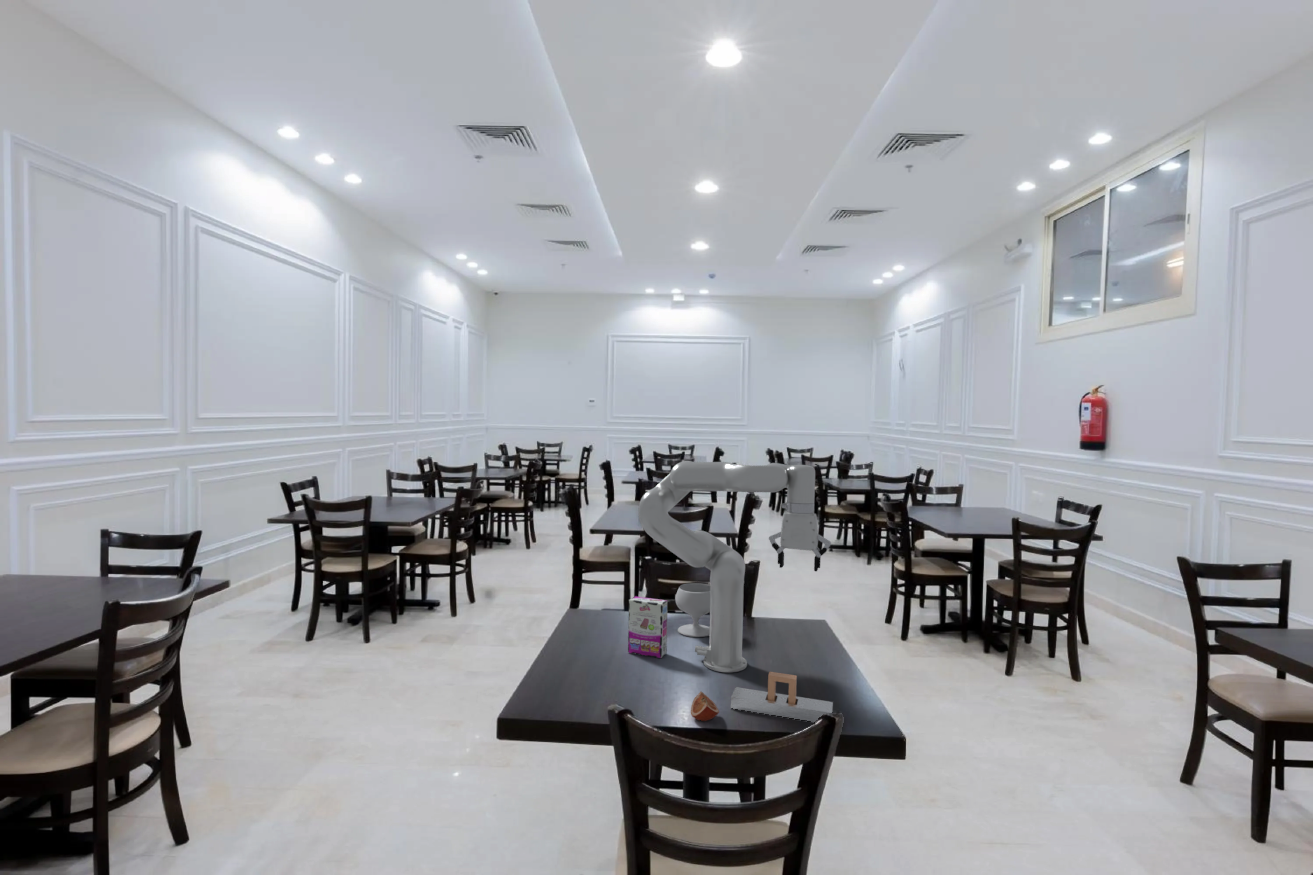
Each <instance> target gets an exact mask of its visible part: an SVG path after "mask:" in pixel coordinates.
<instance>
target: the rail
mask: <svg viewBox="0 0 1313 875" xmlns="http://www.w3.org/2000/svg"><path fill="white" fill-rule="evenodd" d="M788 696H789V694H784V693H777V692H776V697H775V701H769V700H768V691H764V690H757V689H753V688H752V689H750V688H744V687H739V686H736V687H735V688H734V689H733V692H732V694H731V696H730V709H731V708H733V709H732V710H735V709H738V710H737V711H741V710H745V711H744V712H747V711H751V712H750V713H753V712H757V713H756V714H759V713H764V714H763V715H765V714H769V715H768V716H771V715H776V716H775V717H777V716H782V717H781V718H783V717H789V718H794V719H793V720H795V719H800V720H799V721H801V720H807V721H811V722H810V723H812V724H813V723H814V722H815V721H816V720H818V718H819V717H821V716H822V715H823V714H826V713H832V712H834V701H829V700H821V699H816V698H809V697H802V696H797V695H796V705H794V704H788ZM789 718H788V719H789ZM807 721H806V722H807ZM814 724H815V723H814Z"/></svg>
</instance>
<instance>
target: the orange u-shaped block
mask: <svg viewBox="0 0 1313 875" xmlns="http://www.w3.org/2000/svg"><path fill="white" fill-rule="evenodd" d="M797 680H798V676H797V675H794V674H788V673H782V672H781V673H780V672H775V671H769V672H768V679H767V692H768V700H769V701H775V697H776V693H777V692H776V691H777V682H779V683H784V684H788V695H789V696H788V704H794V705H796V696H797Z"/></svg>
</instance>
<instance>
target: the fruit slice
mask: <svg viewBox="0 0 1313 875" xmlns="http://www.w3.org/2000/svg"><path fill="white" fill-rule="evenodd" d="M719 713H720V709H719V708H718V706H717V705H716V704H715V702H714V700H712V699H711V698H710V697H709V696H707V694H706V693H704V692H702V691H699V693H698V694H697V695H696V696H695V697H694V698H693V701H692V703H691V707H690V715H691V716H692V718H694V719H695V720H697V721H700V720H701V722H707V721H710V720H712V719H714V718H715V717H717V715H718V714H719Z"/></svg>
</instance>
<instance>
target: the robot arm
mask: <svg viewBox="0 0 1313 875" xmlns="http://www.w3.org/2000/svg"><path fill="white" fill-rule="evenodd" d="M785 488H786V489H787V495H786V496H787V497H786V502H784V503H783V502H782V503H781V508H782V509H785V512H784V513H783V515H782V520H781V528H780V529H781V530H780V531H779V532H777V533H774V534H772V535H770V536H769V537H768V540H769V542H770V544H771V547H772V548H773V549H774V550H775V551H776V553H777V564H778V565H779V568H781V569H782V568H783V567H784V565H785V552H784V549H789V550H799V551H808V552H809V551H812V552H813V554H815V555H814V562H813V567H814V568H813V571H814V572H818V570H819V569H820V568H821V557H822V556H823V555H824V554H826V552H828V550H829V548H830V547H831V544H832V542H831V541H830V540H829V539H828V538H825V537H824V536H823V535H821V534H819V525H818V517H817V513H815V496H816V494H815V491H816V490H815V489H816V470H815V467H813V466H812V465H807V464H793V465H791V464H783V463H779V462H770V463H768V464H767V465H748V464H747V465H745V464H735V463H733V462H730V461H729V462H728V461H692V460H682V461H680V462H678V463H676V464H675V465H674V466H673V467H672V468H671V470H670V472H669V474H667V476H665V477H664V478H663V479H662V480H661V481H660V482H659V483H658V484H657V485H655V487H653V488H651V489H649V490H648V491H646V492H645V493H643V495H642V497H641V498H640V502H639V504H638V518H639V519H638V520H639V522H640V526H641V527H642V529H643V530H644V532H645V533H646V534H647V535H648V536H649V537H650V538H652V539H653V540H654V541H656V542H657V543H659V544H660V545H661V546H662V547H664V548H665V549H667V550H668V551H670V552H671V553H673V555H675V556H677V558H679V559H680V560H682V561H683V562H685V563H686V564H687V565H689V566H690V567H693V568H696V569H697V568H703V567H705V568H706V569H708V570H709V571H710V573H709V575H710V576H709V585H710V612H709V627H710V635H709V640H708V642H709V644H708V645H706V646H701V645H695V647H694V652H695V653H696V656H704V657H703V665H704V666H705V667H706V668H708V669H709V670H712V671H715V672H720V673H737V672H742V671H744V670H745V669H746V668H747V666H748V662H747V661H748V660H747V659H745V657H743V627H744V626H743V625H744V624H743V623H744V622H743V620H744V586H745V585H744V584H745V574H746V573H745V572H746V562H745V560H744V558H743V556H742V555H741V554H740V553H739V552H738V551H736V550H735V549H733V548H732V547H731V546H729V545H728V544H726V543H725V542H723V541H722V540H720V539H719V538H717V537H716V536H715V535H713V534H711V533H710V532H707V531H704V530H695V531H693V530H692V529H690V528H688V527H687V526H685V525H684V524H683V523H681V522H680V521H678V520H677V519H675V518H673V517H672V516H671V515H670V514H669V512H670V511H671V510H672V509H673V508H674V507H675V506H676V505H677V504H679V502H681V500H683V499H684V498H685V497H686V496H687V495H688V494H689V493H690V492H730V493H735V492H738V493H740V492H741V493H776V492H780V491H782V490H783V489H785ZM779 538H780V545H779V544H778V543H777V541H776V539H779ZM819 542H820V543H822V544H824V546H823V547H822V548H821V549H820V548H819V547H818V545H819Z"/></svg>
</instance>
